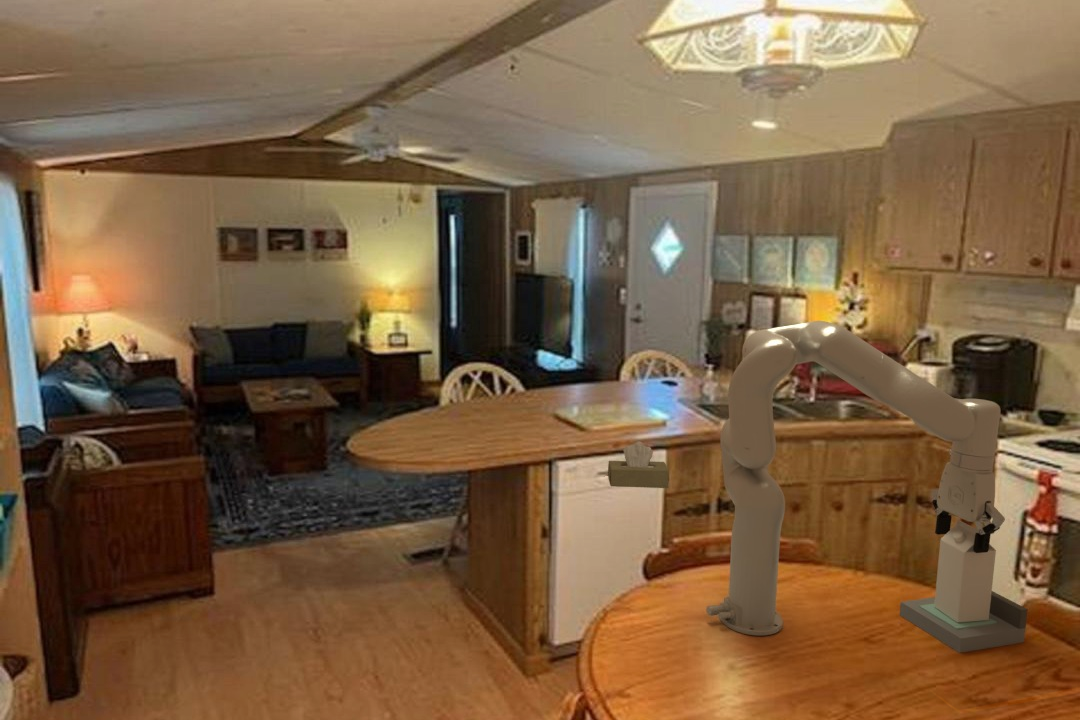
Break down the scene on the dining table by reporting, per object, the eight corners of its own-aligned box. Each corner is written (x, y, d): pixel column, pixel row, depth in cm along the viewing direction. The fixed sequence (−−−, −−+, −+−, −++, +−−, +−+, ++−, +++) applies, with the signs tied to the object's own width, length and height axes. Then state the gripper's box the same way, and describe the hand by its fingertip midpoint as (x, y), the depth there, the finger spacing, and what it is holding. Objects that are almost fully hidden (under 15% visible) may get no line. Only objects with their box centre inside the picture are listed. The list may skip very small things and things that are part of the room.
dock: (959, 652, 149) (962, 619, 148) (899, 615, 164) (902, 584, 163) (1023, 642, 153) (1027, 609, 152) (959, 606, 168) (962, 576, 167)
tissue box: (664, 485, 252) (666, 438, 250) (669, 494, 242) (671, 446, 240) (607, 484, 252) (608, 437, 250) (609, 493, 242) (610, 445, 240)
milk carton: (963, 604, 162) (972, 518, 159) (988, 621, 155) (998, 531, 152) (933, 607, 160) (941, 520, 158) (957, 623, 154) (966, 532, 151)
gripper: (923, 450, 160) (913, 528, 163) (993, 474, 144) (981, 561, 146) (952, 449, 162) (942, 526, 165) (1024, 473, 146) (1012, 558, 148)
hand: (960, 542), depth 156 cm, fingers open, 9 cm apart
